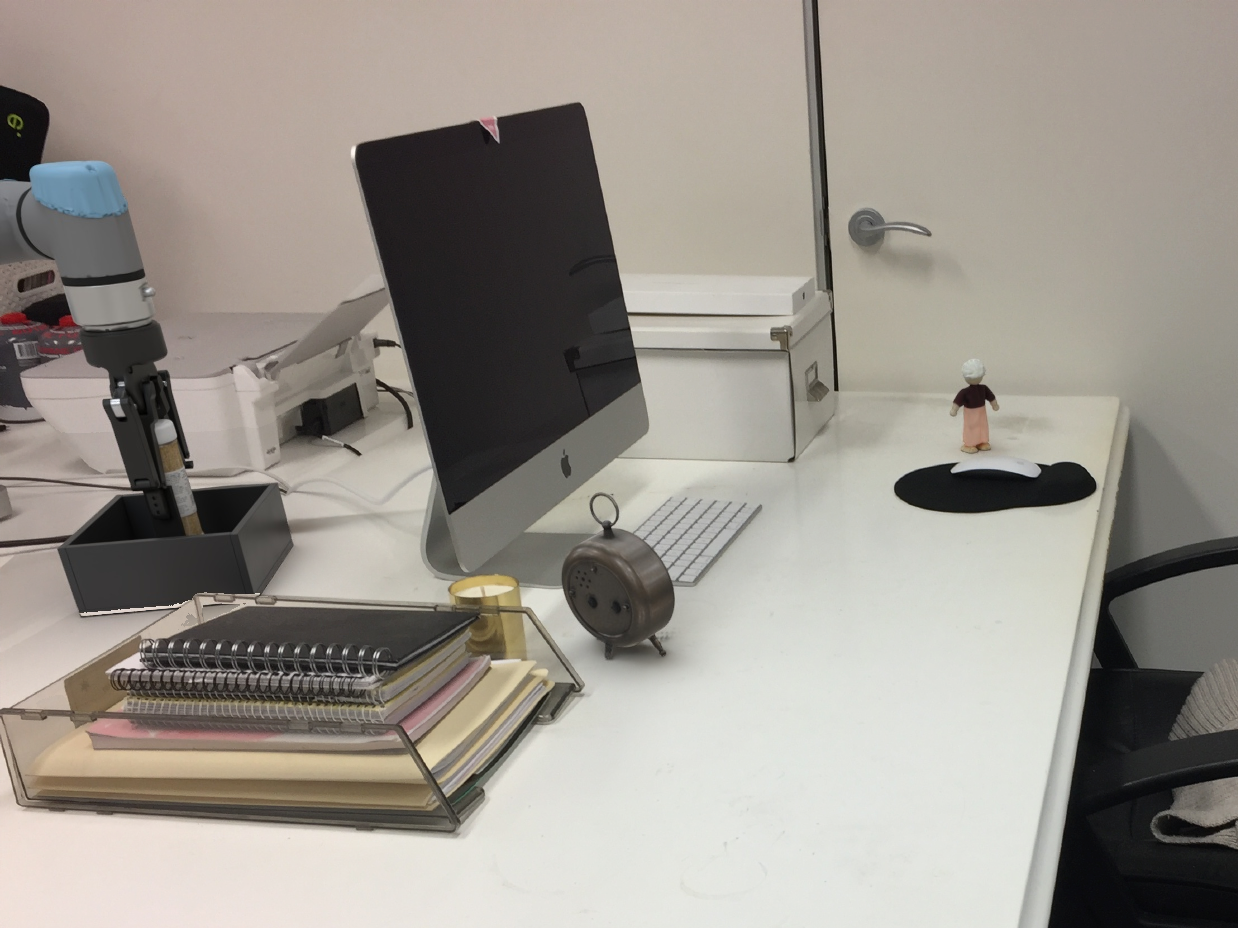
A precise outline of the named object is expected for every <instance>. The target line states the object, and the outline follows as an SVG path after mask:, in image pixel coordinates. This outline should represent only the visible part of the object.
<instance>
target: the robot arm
mask: <svg viewBox="0 0 1238 928" xmlns="http://www.w3.org/2000/svg"><path fill="white" fill-rule="evenodd" d="M29 180H30V181H18V180H16V179H8V178H4V179H0V266H2V265H3V266H4V265H10V264H15V263H22V262H28V261H37V260H39V261H41V260H42V261H44V260H45V261H55V264H56V267H57V271H58V273H59V277H60V280H61V283H62V288H63V291H64V295H65V297H66V301H67V304H68V307H69V311H70V314H71V318H72V321H73V323H75V325H77V326H81V328H80V329H79V331H78V332H77V336H78V338H79V341H80V344H81V348H82V352H83V355H84V357H85V361H86V362H87V364H88V365H89V366H91V367H94V368H98V369H101V368H102V369H104V370H106V372H107V373H108V379H109V387H108V388H109V392H110V397H111V398H103V399H101V400H102V402H101V403H102V404H101V405H102V408H103V410H104V412H105V414H106V416H107V418H108V420H109V422H110V425H111V428H112V430H113V434H114V438H115V440H116V444H117V447H118V450H119V453H120V456H121V461H122V462H123V466H124V469H125V472H126V475H127V478H128V482H129V485H130V486H129V487H130V489H131V491H132V492H142V493H143V494H144V497H145V500H146V504H147V507H148V510H149V514H150V517H151V520H152V523H153V527H154V530H155V533H156V536H157V538H164V537H176V536H186V533H185V530H184V526H183V523H182V519H181V516H180V513H179V509H178V506H177V503H176V499H175V496H174V492H173V489H172V486H167V482H166V478H165V473H164V468H163V464H162V459H161V454H160V449H159V444H158V440H157V437H156V433H155V423H157V422H158V419H168V420H170V421H172V422H173V425H174V428H175V431H176V434H177V438H176V439H177V445H178V448H179V452H180V455H181V458H182V462H183V465H184V467H185V470H192V469H194V467H195V463H194V460H189V459H190V457H191V453H190V450H189V446H188V443H187V439H186V437H185V432H184V428H183V425H182V422H181V418H180V415H179V411H178V408H177V403H176V400H175V397H174V393H173V388H172V387H173V386H172V382H171V375H170V372H169V370H168V369H157V366H156V364H155V363H156V362H158V361H162V360H164V359H165V358H166V357H167V356H168V354H169V352H168V347H167V343H166V340H165V336H164V333H163V330H162V326H161V323H159V322H158V320H156V319H152V318H154V317H155V315H156V314H157V311H156V307H155V303H154V300H153V297H155V296H156V294H157V292H156V290H155V288H154V287H152V286H149V281H148V278H147V275H146V272H145V269H144V268H145V266H144V263H143V260H142V255H141V252H140V247H139V244H138V241H137V237H136V233H135V229H134V226H133V221H132V218H131V214H130V211H129V202H128V200H127V199H126V198H125V196H124V193H123V190H122V188H121V185H120V182H119V179H118V175H117V172H116V170H115V169H114V168H113V166H112V165H110V164H109V163H107V162H105V161H102V160H70V161H56V162H46V163H40V164H36V165H34V166H32V167H31V168H30V170H29ZM187 477H188V478H189V476H188V475H187ZM188 481H189V484H190V480H189V479H188ZM190 485H191V484H190ZM191 491H192V490H191ZM192 494H193V493H192ZM193 498H194V497H193ZM194 501H195V500H194ZM195 505H196V504H195ZM196 508H197V507H196ZM196 512H197V515H198V519H199V522H200V526H201V527H202V525H201V521H200V518H199V514H198V511H197V510H196Z"/></svg>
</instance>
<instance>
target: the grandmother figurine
mask: <svg viewBox="0 0 1238 928" xmlns="http://www.w3.org/2000/svg"><path fill="white" fill-rule="evenodd" d="M986 372H987V369H986V367H985V365H984V363H983V362H982V360H981V359H979V358H970V359H968V360H966V361H965V362H964V363H963V364H962V367H961V372H960V373H961V374H962V378H963V379H964V381H965V382H966V383H967V384H968V386H966V387H964V388H961V389H960V390H959V391H958V392H957V394H956V395H955V397H954V398H953V401H952V405H951V410H950V411H949V415H950V416H951V417H953V418H954V417H955V418H956V416H957V415H958V411H959V410H960V409H961V408H962V407H963V409H962V411H963V412H962V413H963V427H962V442H963V444H962V446H961V447H960V451H961V452H965V453H967V454H975V453H978V452H979V450H981V451H988V450H991V449H992V448H991V445H990V430H989V429H990V428H989V421H988V414H987V408H986V407H987V406H986V401H988V403H989V404H990V406H991V408H992V410H993V411H994V412H997V411H999V410H1000V405H999V404H998V400H997V397H996V395H995V394H994V392H993V391H992V390H991V389H990V387H989V386H988V385H987V384H983V383H982V381H983V378H984V376H986Z"/></svg>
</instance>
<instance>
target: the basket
mask: <svg viewBox="0 0 1238 928" xmlns="http://www.w3.org/2000/svg"><path fill="white" fill-rule="evenodd" d="M191 490H192V493H193V497H194V500H195V504H196V507H197V511H198V514H199V518H200V521H201V525H202V527H201V529H202V531H203V532H204V534H201V535H189V536H176V537H164V538H157V536H156V533H155V530H154V527H153V523H152V520H151V517H150V514H149V510H148V507H147V504H146V500H145V497H144V494H143V492H136V493H124V494H115V495H114V497H112V499H110V500H109V501H108V502H107V503H106V504H104V506H103V507H101V509H99V510H98V511H97V512H96V513H95V514H93V516H91V518H89V519H88V520H87V521H85V523H84V524H83V525H82V526H81V527H79V528H78V529H77V530H76V531H75V532H73V534H72V535H71V536H69V537H68V538H67V539H66V540H65V541H64V542H63V543H62V544H61V545H59V546H58V547H57V548H56V549H57V553H58V556H59V558H60V561H61V565H62V567H63V571H64V573H65V577H66V580H67V583H68V585H69V588H70V591H71V594H72V596H73V599H74V602H75V605H76V608H77V611H78V614H79V613H84V612H86V613H87V612H98V611H111V610H118V609H120V610H121V609H130V608H144V607H156V606H169V605H170V606H171V605H172V606H173V605H174V604H177V603H179V604H182V603H183V602H185V601H188V600H192V598H193V596H194V595H195V594H197V593H204V592H207V593H224V594H255V593H261V594H262V593H264V591H265V589H266V587H267V586H268V584H269V583H270V581H271V580H272V579H273V577H274V575H275V574H276V572H277V571H278V569H279V567H280V566H281V565H282V564H283V562H284V560H285V559H286V557H287V556H288V554H289V553H290V551H291V550H292V548H293V546H294V545H295V544H294V540H293V537H292V532H291V529H290V524H289V521H288V516H287V513H286V510H285V505H284V502H283V501H284V500H283V497H282V494H281V489H280V486H279V483H278V482H267V483H266V482H265V483H255V484H254V483H253V484H242V485H241V484H240V485H226V486H215V487H213V486H212V487H202V488H191ZM266 585H267V586H266Z"/></svg>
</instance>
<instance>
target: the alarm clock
mask: <svg viewBox="0 0 1238 928" xmlns="http://www.w3.org/2000/svg"><path fill="white" fill-rule="evenodd" d="M597 497H605V498H607V499H608V500H609V501H610V502H611V504H612V505H613V507H614V509H615V519H614V521H613V522H612V521H611V520H609V519H606V520H604V521H601V520H600V519H599V518H598V517H597V515H596V513H595V511H594V507H593V506H594V505H593V504H594V501H595V500H596V498H597ZM589 511H590V514H591V516H592V517H593V519H594V520H595V522H596V523H598V524H599V525H601V528H602V529H603V530H600V531H599V532H597V533H596V534H594V535H592V536H590V537H588V538H587V539H585V540H583V541H580V542H579V543H578V544H576V545H574V546H573V547H572V548H570V550H569V552H567V554H566V555H565V558H564V560H563V563H562V567H561V586H562V591H563V595H564V598H565V601H566V603H567V605H568V607H569V609H570V611H571V613H572V614H573V616H574V617H575V619H576V620H577V621H578V623H579V624H580V625H581V626H582V627H583V628H584V630H585V631H587V632H588V633H589V634H590V635H592V636H593V637H594V638H595V639H597V640H599V641H600V642H602V643H603V644H605V645H604V654H603V655H604V658H605V659H606V660H609V659H610V658H611V653H612V649H613V647H616V648H632V647H634V646H636V645H637V646H638V645H639V644H641V643H642V642H644V641H645V640H649V642H650V643H651V644H652V645H653V647H654V648H655V649H656V650H657V651H658V654H659V656H660V655H664V656H666V655H667V651H666V650H664V648H663V646H662V642H661V641H660V640H659V639H658V637H657V635H656V633H658V632H659V631H661V630H663V629H664V628H665V627H667V625H668V624H669V623H670V622H671V620H672V618H673V615H674V611H675V606H676V596H675V595H676V594H675V588H674V584H673V580H672V578H671V575H670V572H669V570H668V568H667V566H666V564H665V563H664V561H663V559H662V558H661V557H660V556H659V554H658V553H657V552H656V550H655V549H654V548H653V547H652V546H651V545H650V544H649V543H647V541H645V540H644V539H643V538H641V537H640V536H639V535H637V534H635V533H633V532H631V531H629V530H626V529H624V528H623V529H622V528H617V527H614V526H615V525H616V524H617V522H618V521H619V520H620V519H619V518H620V508H619V505H618V503H617V501H616V500H615V499H614V497H613V496H611V495H610V494H609V493H606V492H603V491H599V492H595V493H594V494H593V495H592V496H591V498H590V500H589Z"/></svg>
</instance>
